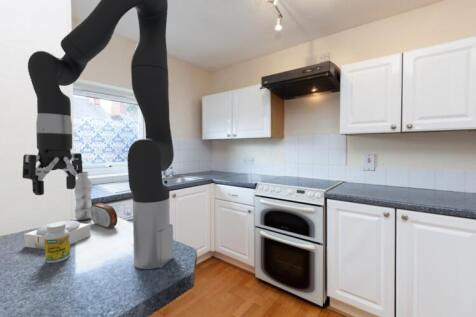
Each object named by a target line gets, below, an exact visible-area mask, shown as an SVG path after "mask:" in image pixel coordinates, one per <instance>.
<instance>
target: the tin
mask: <svg viewBox="0 0 476 317" xmlns="http://www.w3.org/2000/svg"><path fill="white" fill-rule="evenodd" d="M90 219H91V220H92V222H93V223H94V224H95V225H97V226H100V227H103V228H105V229H111V228H113V227H114V228H115V227H116V226H117V224H118V215H117V211H116V210H115V208H114V207H113V206H112V205H109V204H106V203H102V202H98V203H95V204H92V207H91V218H90Z"/></svg>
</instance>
